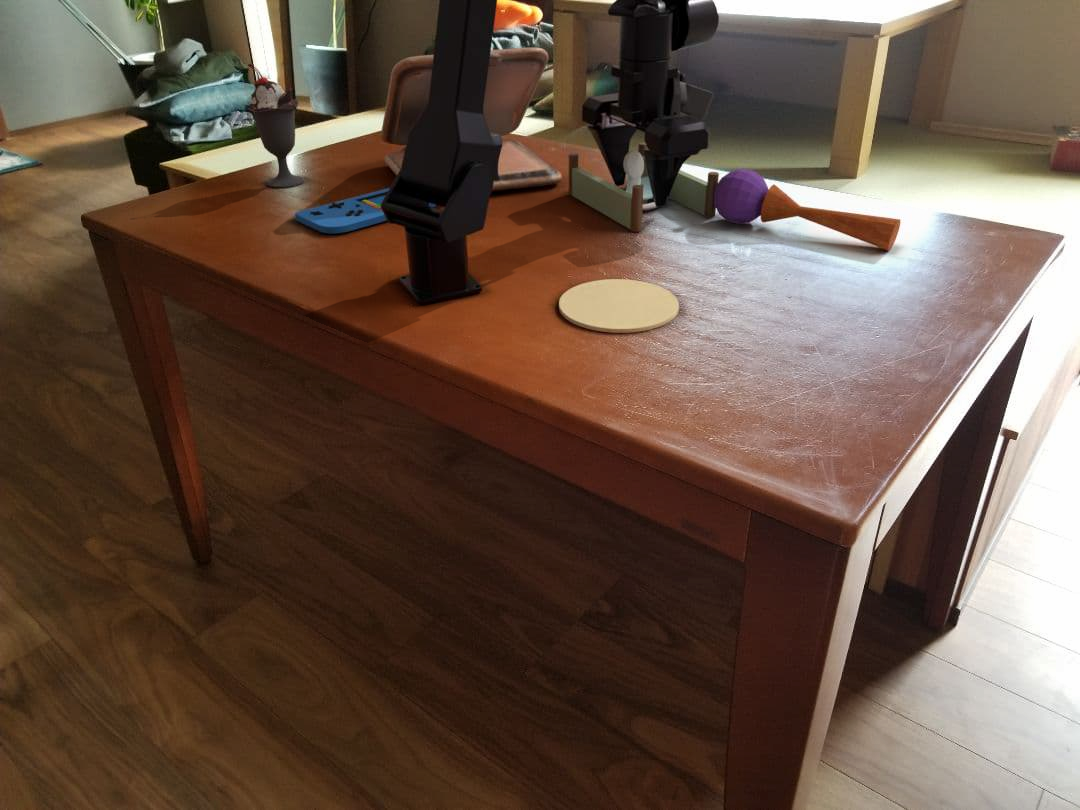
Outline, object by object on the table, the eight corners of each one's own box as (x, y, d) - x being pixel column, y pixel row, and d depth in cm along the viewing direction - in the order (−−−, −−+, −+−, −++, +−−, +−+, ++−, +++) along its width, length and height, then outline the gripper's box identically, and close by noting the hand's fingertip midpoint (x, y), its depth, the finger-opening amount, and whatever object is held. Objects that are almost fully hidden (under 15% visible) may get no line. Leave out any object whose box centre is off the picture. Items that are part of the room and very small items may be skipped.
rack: (717, 216, 101) (721, 173, 98) (634, 232, 96) (636, 188, 94) (643, 180, 113) (644, 141, 110) (567, 193, 109) (566, 153, 106)
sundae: (255, 179, 117) (232, 61, 109) (305, 172, 119) (286, 56, 112) (264, 192, 112) (240, 70, 104) (316, 185, 114) (296, 64, 106)
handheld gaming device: (292, 210, 102) (399, 182, 110) (294, 219, 102) (400, 191, 111) (328, 227, 96) (437, 197, 105) (330, 237, 97) (438, 206, 105)
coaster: (702, 316, 78) (702, 312, 78) (595, 343, 74) (595, 339, 73) (638, 274, 86) (638, 271, 86) (538, 296, 82) (538, 292, 82)
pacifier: (677, 204, 105) (639, 192, 109) (682, 152, 102) (643, 141, 105) (637, 218, 101) (600, 205, 104) (641, 165, 97) (602, 154, 101)
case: (517, 147, 128) (514, 30, 120) (570, 185, 111) (570, 52, 103) (380, 161, 122) (367, 39, 114) (413, 204, 105) (401, 64, 97)
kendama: (891, 223, 86) (706, 177, 95) (879, 273, 90) (703, 225, 99) (909, 196, 89) (730, 155, 98) (897, 246, 93) (725, 202, 102)
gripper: (756, 63, 92) (741, 206, 100) (660, 39, 106) (654, 166, 114) (668, 74, 88) (660, 222, 96) (580, 48, 102) (579, 179, 110)
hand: (639, 195), depth 104 cm, fingers open, 9 cm apart
